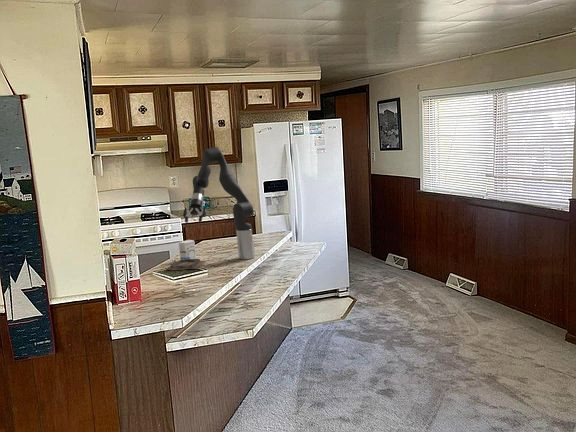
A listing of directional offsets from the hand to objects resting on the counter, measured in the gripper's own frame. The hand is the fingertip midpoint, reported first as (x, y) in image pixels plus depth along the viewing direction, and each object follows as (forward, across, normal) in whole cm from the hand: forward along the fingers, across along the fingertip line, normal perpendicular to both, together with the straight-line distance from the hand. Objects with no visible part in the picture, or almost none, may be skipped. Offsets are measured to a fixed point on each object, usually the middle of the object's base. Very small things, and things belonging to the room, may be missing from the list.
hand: (192, 222), depth 332 cm
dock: (+37, +4, -8) cm, 38 cm away
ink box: (+26, 0, +4) cm, 26 cm away
